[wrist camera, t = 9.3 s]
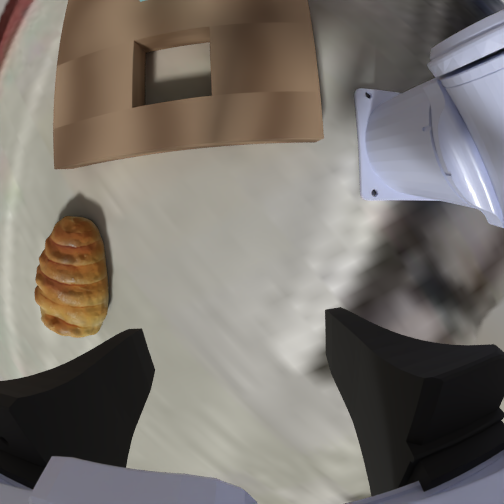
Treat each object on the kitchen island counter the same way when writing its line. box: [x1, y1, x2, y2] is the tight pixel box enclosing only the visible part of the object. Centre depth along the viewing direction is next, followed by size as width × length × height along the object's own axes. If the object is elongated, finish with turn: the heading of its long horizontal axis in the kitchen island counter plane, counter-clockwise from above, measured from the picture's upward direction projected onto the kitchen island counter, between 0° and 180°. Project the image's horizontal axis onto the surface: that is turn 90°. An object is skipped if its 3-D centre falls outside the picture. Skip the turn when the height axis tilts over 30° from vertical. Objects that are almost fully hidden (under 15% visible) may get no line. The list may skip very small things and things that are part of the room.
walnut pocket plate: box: [53, 0, 324, 169], centre depth 15 cm, size 18×20×2 cm
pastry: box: [35, 216, 109, 338], centre depth 20 cm, size 9×7×4 cm
